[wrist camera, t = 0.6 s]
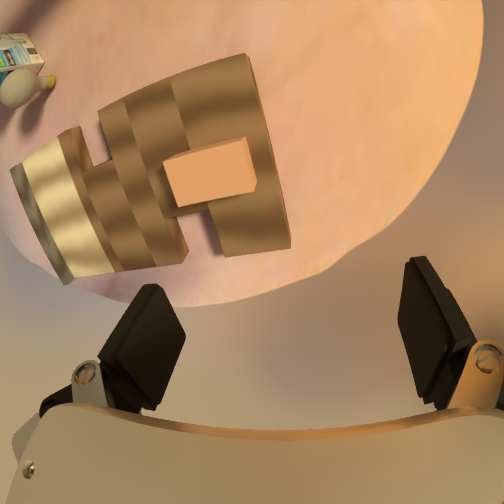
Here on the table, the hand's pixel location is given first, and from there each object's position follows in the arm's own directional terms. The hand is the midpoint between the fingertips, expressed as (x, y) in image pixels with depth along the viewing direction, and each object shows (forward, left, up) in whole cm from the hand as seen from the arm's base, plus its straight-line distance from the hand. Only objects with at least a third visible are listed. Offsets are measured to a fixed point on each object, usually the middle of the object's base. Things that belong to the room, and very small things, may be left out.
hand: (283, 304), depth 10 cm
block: (-1, -8, -20) cm, 21 cm away
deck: (-1, -21, -23) cm, 31 cm away
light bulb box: (-29, -35, -23) cm, 51 cm away
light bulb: (-21, -29, -23) cm, 43 cm away
